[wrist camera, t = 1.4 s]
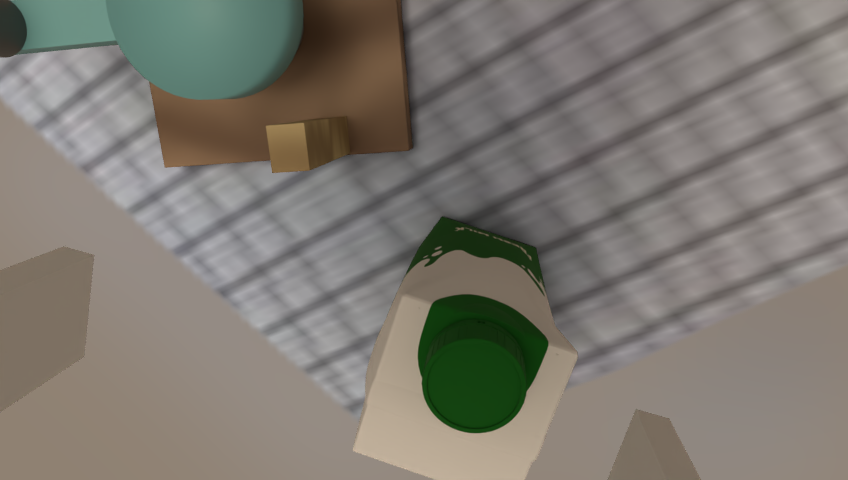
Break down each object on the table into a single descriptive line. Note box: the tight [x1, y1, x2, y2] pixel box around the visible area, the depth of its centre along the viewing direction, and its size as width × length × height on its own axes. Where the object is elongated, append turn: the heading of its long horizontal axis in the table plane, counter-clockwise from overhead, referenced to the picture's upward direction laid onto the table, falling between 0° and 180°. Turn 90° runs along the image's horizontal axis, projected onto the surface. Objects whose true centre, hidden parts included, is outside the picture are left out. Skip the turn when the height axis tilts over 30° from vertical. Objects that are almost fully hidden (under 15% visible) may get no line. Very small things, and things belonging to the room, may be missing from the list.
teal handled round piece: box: [0, 0, 304, 100], centre depth 27 cm, size 17×9×9 cm, turn 94°
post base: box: [149, 0, 413, 173], centre depth 34 cm, size 17×17×11 cm
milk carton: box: [353, 217, 578, 480], centre depth 32 cm, size 9×9×20 cm
